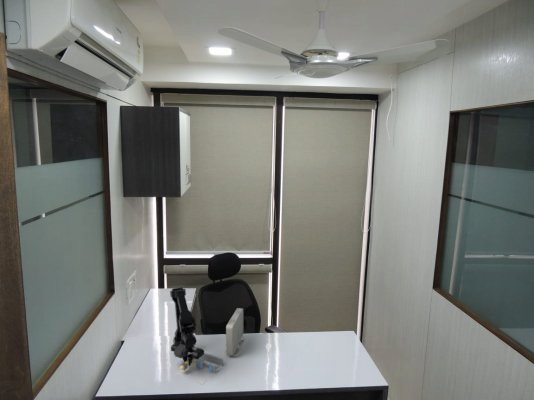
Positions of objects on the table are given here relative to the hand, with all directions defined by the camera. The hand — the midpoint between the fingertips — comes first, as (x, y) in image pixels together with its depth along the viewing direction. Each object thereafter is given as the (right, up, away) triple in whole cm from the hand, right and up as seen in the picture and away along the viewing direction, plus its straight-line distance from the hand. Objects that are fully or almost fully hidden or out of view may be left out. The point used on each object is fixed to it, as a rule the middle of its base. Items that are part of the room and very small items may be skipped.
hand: (187, 364), depth 188 cm
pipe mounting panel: (+6, -4, +1) cm, 7 cm away
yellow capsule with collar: (0, 0, 0) cm, 0 cm away
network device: (+24, -1, +24) cm, 33 cm away
